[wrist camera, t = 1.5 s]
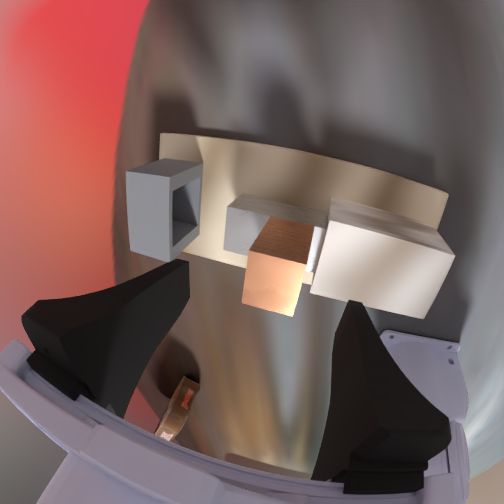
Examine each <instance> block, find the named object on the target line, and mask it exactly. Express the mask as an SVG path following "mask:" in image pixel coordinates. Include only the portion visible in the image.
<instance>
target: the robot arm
mask: <svg viewBox="0 0 504 504" xmlns="http://www.w3.org/2000/svg"><path fill="white" fill-rule="evenodd" d="M189 298H190V285H189V262H188V261H185V260H181V259H175V260H172V261H170V262H168V263H166V264H164V265H162V266H159V267H157V268H155V269H153V270H151V271H149V272H147V273H145V274H143V275H140V276H138V277H136V278H133V279H131V280H129V281H126V282H124V283H122V284H119V285H116V286H114V287H111V288H108V289H104V290H101V291H98V292H94V293H89V294H85V295H81V296H75V297H70V298H62V299H49V300H38V301H37V302H36V303H35V304H34V305H33V306H32V307H30V308H29V309H28V310H27V311H26V312H25V313H24V314H23V315H22V324H23V327H24V329H25V331H26V333H27V335H28V337H29V338H30V340H31V342H32V344H33V346H34V347H35V349H36V350H35V351H34V352H33V353H31V352H30V350H29V349H28V348H27V347H25V346H24V345H23V344H22V343H21V342H20V341H19V340H18V339H14V340H13V341H12V342H11V343H10V344H9V345H8V346H7V347H6V348H5V349H4V350H3V351H2V352H1V353H0V389H1V390H2V391H3V393H4V394H5V395H6V396H7V397H8V398H9V399H10V401H11V402H12V403H13V404H14V405H15V406H16V407H17V408H18V409H19V410H20V411H21V412H22V413H23V414H24V415H25V416H26V417H27V418H28V419H29V420H30V421H31V422H33V423H34V424H35V425H36V426H37V427H38V428H39V429H40V430H41V431H42V432H44V433H45V434H46V435H47V436H48V437H49V438H51V439H52V440H53V441H54V442H56V443H57V444H58V445H59V446H60V447H62V448H63V449H64V450H66V451H67V452H68V455H67V456H66V458H65V460H64V461H63V462H62V464H61V466H60V467H59V469H58V470H57V472H56V473H55V475H54V476H53V478H52V479H51V481H50V483H49V484H48V486H47V487H46V489H45V490H44V492H43V494H42V495H41V497H40V498H39V500H38V502H37V503H36V504H465V502H466V499H467V498H468V495H469V475H470V469H469V455H468V448H467V442H466V436H465V432H464V429H463V426H462V424H463V422H464V420H465V417H466V414H467V410H468V392H467V388H466V384H465V381H464V377H463V373H462V370H461V366H460V363H459V360H458V356H457V352H458V351H459V349H460V344H459V343H455V342H449V341H443V340H438V339H432V338H427V337H422V336H416V335H411V334H406V333H401V332H396V331H392V330H385V331H383V332H382V334H381V336H379V334H378V333H377V331H376V329H375V327H374V325H373V323H372V321H371V319H370V317H369V315H368V313H367V311H366V309H365V307H364V305H363V303H362V302H358V301H354V300H348V303H347V305H346V308H345V310H344V313H343V315H342V318H341V320H340V323H339V325H338V328H337V330H336V332H335V338H334V344H333V352H332V376H331V397H330V405H329V411H328V416H327V421H326V426H325V431H324V435H323V439H322V443H321V447H320V451H319V455H318V458H317V462H316V465H315V468H314V471H313V474H312V477H311V480H307V479H301V478H294V477H288V476H283V475H278V474H273V473H268V472H263V471H259V470H255V469H250V468H247V467H243V466H239V465H236V464H232V463H228V462H225V461H222V460H219V459H216V458H212V457H209V456H206V455H204V454H201V453H198V452H195V451H192V450H190V449H187V448H184V447H182V446H179V445H177V444H174V443H172V442H170V441H167V440H165V439H163V438H160V437H158V436H156V435H154V434H152V433H149V432H147V431H145V430H143V429H141V428H139V427H137V426H135V425H133V424H131V423H129V422H127V421H125V420H123V418H124V415H125V412H126V410H127V407H128V404H129V402H130V399H131V397H132V395H133V393H134V390H135V388H136V386H137V384H138V381H139V379H140V377H141V375H142V373H143V371H144V369H145V367H146V366H147V364H148V362H149V360H150V358H151V356H152V354H153V353H154V351H155V350H156V348H157V347H158V345H159V344H160V342H161V341H162V340H163V338H164V337H165V335H166V334H167V333H168V331H169V330H170V329H171V327H172V326H173V324H174V323H175V322H176V320H177V319H178V317H179V316H180V315H181V313H182V311H183V309H184V307H185V306H186V304H187V302H188V300H189ZM391 335H393V336H391ZM227 483H228V484H227ZM230 484H231V485H230ZM233 485H235V486H233ZM236 486H239V487H242V488H246V489H251V490H255V491H259V492H264V493H263V495H262V494H259V493H255V492H252V491H249V490H245V489H242V488H239V487H236Z"/></svg>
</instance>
